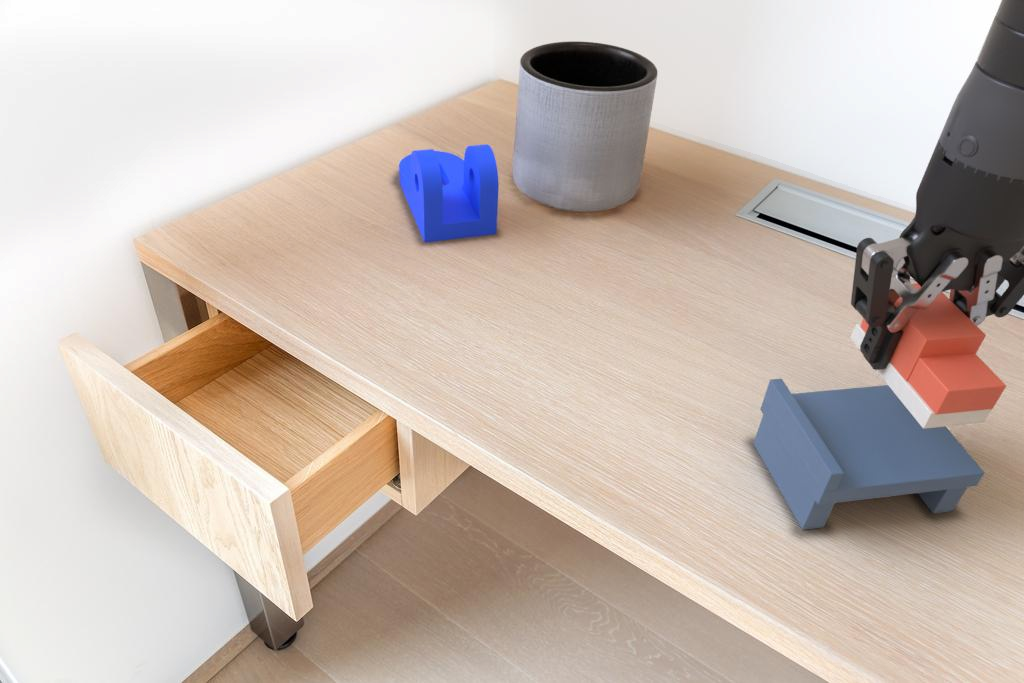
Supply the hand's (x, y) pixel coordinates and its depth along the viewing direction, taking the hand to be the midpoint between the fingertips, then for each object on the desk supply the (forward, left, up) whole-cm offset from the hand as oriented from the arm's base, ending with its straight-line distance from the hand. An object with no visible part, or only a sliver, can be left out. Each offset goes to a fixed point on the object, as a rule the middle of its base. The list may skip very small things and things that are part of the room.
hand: (905, 358), depth 59 cm
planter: (+12, -48, -11) cm, 51 cm away
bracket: (+29, -46, -11) cm, 56 cm away
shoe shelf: (+2, +2, -11) cm, 11 cm away
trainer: (0, +1, -1) cm, 2 cm away
